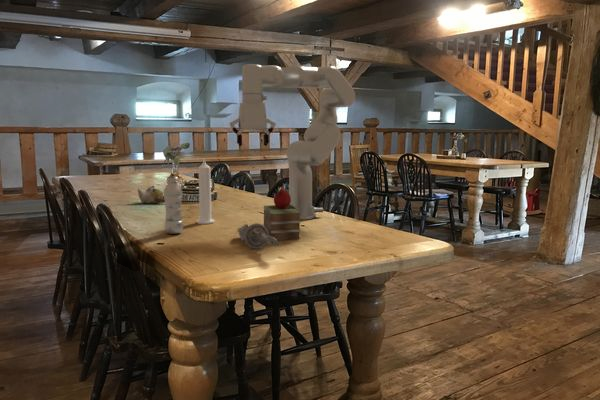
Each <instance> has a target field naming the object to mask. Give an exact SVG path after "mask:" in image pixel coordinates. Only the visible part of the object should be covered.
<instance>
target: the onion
mask: <svg viewBox="0 0 600 400" xmlns="http://www.w3.org/2000/svg"><path fill="white" fill-rule="evenodd" d="M285 189H286V188H285V187H284V186H283V187H281V188H280V189H279V190H278V191H277V192H276V193H275V194H274V196H273V203H274V205H276V207H277V208H279V209H280V210H283V209H286V208H287V207H288V206H289V205H290V203H291V197H290V195H289V191H288V192H287V190H285Z"/></svg>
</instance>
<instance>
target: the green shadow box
mask: <svg viewBox="0 0 600 400" xmlns="http://www.w3.org/2000/svg"><path fill="white" fill-rule="evenodd" d="M300 224H301V220H300V209H299V208H297V207H295V206H293V205H289V206H288V207H287V208H286V209H283V210H280V209H279V208H277V207H276V205H275V204H274V205H273V204H271V205H270V204H269V205H263V225H264V226H265V227H266V229H267V231H268V236H271V237H274V238H275V239H276V240H277V241H288V240H300V239H301V238H300V235H301V234H300V232H301V229H300V227H301V226H300Z"/></svg>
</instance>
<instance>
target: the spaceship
mask: <svg viewBox="0 0 600 400" xmlns="http://www.w3.org/2000/svg"><path fill="white" fill-rule="evenodd" d="M256 230H257V232H256ZM237 232H238V236H239V238H240V240H241V242H242V243H245V244H246V245H247V246H248V247H249V248H251V249H254V250H257V249H261V248H263V247H264V246H267V244H270V245H271V246H273V247H278V246H279V242H278V240H276V239H275V238H274V237H271V236H268V231H267V229H266V227H265V226H264V224H261V223H258V222H257V223H252V224H250V225H249V224H248V223H247V224H244V225H243V226H241V227H238V229H237Z"/></svg>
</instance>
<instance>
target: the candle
mask: <svg viewBox="0 0 600 400" xmlns="http://www.w3.org/2000/svg"><path fill="white" fill-rule="evenodd" d="M211 174H212V173H211V166H209V165H208V164H207V163H206V158H203V160H202V163H201V165H199V166H198V200H199V201H198V202H199V219H197V220H196V223H197V224H200V225H210V224H214V223H215V222H216V220H215V219H214V218H212V190H211V189H212V187H211V185H212V184H211V180H212V179H211Z"/></svg>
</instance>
